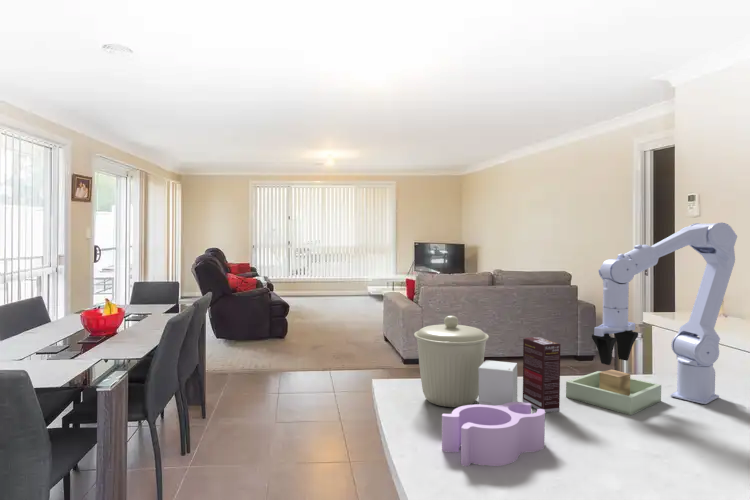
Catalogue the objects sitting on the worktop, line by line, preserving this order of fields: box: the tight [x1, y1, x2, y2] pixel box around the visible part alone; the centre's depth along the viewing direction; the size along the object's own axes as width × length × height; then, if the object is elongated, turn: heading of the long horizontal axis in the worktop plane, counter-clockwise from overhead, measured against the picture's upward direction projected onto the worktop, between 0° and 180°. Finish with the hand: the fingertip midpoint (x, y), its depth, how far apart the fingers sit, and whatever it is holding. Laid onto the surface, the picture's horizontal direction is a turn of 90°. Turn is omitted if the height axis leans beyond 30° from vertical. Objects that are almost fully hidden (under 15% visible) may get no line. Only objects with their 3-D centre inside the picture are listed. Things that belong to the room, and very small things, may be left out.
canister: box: [413, 315, 490, 408], centre depth 123 cm, size 18×18×21 cm
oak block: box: [599, 368, 631, 396], centre depth 125 cm, size 5×5×6 cm
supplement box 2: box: [522, 336, 561, 414], centre depth 120 cm, size 9×5×16 cm, turn 17°
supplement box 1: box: [478, 359, 518, 406], centre depth 110 cm, size 7×7×13 cm
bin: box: [565, 370, 662, 416], centre depth 125 cm, size 16×16×4 cm
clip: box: [441, 401, 546, 467], centre depth 96 cm, size 20×12×7 cm, turn 114°
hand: (614, 361), depth 125 cm, fingers open, 7 cm apart
